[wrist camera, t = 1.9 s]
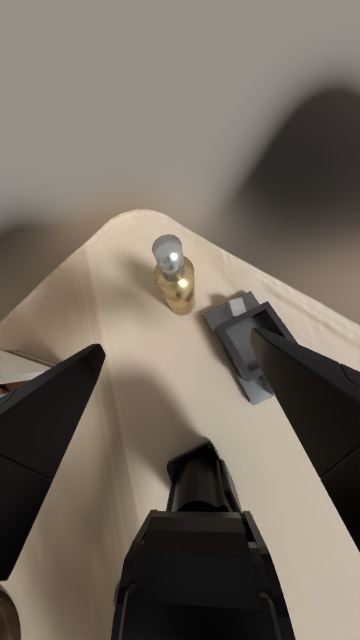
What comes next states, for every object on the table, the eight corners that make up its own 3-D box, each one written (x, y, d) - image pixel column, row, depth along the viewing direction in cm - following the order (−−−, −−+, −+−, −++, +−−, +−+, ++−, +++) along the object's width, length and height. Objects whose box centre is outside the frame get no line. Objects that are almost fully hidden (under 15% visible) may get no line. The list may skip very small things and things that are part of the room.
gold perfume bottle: (176, 319, 23) (152, 279, 11) (165, 298, 24) (134, 239, 12) (199, 308, 23) (202, 254, 11) (188, 287, 24) (179, 217, 12)
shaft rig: (250, 402, 19) (262, 413, 15) (203, 315, 22) (204, 308, 19) (304, 376, 19) (327, 381, 15) (248, 293, 22) (257, 282, 19)
